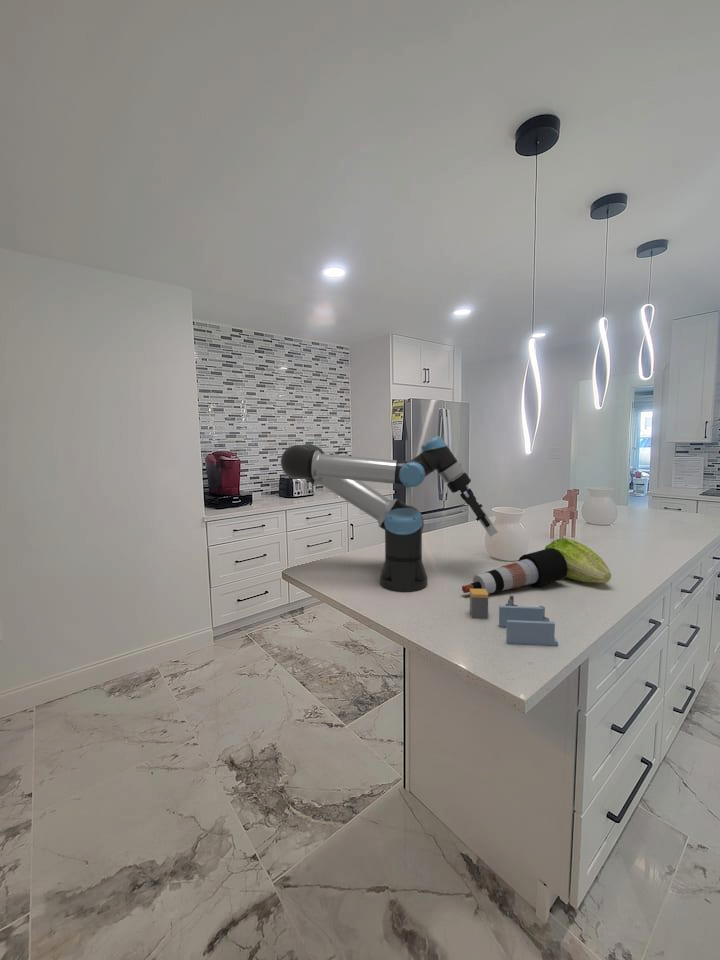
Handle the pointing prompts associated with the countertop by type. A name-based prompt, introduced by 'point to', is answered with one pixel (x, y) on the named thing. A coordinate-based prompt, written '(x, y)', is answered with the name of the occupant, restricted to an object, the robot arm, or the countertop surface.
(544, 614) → the clip
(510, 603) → the clip
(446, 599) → the countertop surface
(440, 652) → the countertop surface
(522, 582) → the cable
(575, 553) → the lettuce
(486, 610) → the block
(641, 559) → the countertop surface
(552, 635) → the holder
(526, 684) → the countertop surface
